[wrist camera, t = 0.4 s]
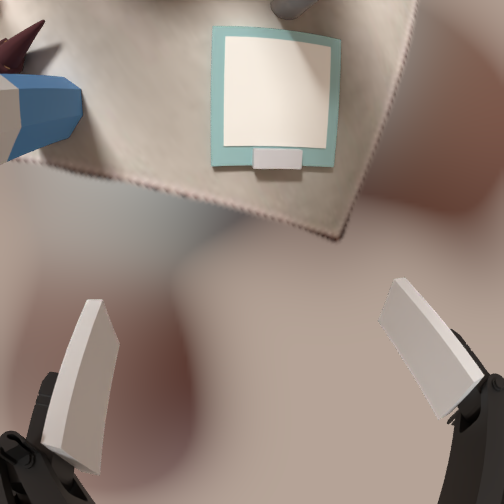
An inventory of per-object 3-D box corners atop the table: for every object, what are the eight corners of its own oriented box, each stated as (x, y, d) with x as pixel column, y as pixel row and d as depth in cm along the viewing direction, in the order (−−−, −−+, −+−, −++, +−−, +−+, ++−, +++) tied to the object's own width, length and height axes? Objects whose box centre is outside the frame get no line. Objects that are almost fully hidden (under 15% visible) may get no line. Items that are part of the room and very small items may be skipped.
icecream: (27, -2, 11) (-38, 76, 14) (29, 30, 13) (-37, 113, 16) (56, 13, 18) (-8, 79, 20) (62, 44, 20) (-4, 113, 22)
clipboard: (212, 28, 25) (213, 23, 23) (337, 41, 27) (345, 38, 25) (211, 166, 34) (211, 169, 32) (330, 166, 36) (337, 170, 34)
